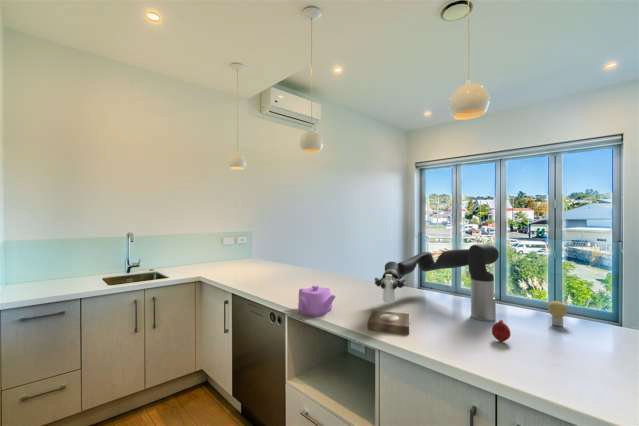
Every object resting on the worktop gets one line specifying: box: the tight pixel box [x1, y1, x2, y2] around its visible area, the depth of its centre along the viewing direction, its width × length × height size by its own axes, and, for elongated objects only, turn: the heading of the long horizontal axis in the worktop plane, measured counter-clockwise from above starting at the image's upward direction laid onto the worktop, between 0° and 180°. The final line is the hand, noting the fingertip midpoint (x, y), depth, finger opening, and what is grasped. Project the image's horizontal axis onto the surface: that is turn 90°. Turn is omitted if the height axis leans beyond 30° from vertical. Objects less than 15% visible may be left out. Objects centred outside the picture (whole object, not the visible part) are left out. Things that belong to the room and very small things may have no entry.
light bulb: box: [547, 300, 568, 327], centre depth 121 cm, size 6×6×10 cm
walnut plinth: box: [367, 309, 410, 335], centre depth 121 cm, size 16×16×3 cm
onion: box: [491, 319, 511, 343], centre depth 104 cm, size 6×6×8 cm
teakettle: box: [297, 285, 336, 318], centre depth 138 cm, size 17×17×12 cm
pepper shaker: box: [382, 274, 396, 303], centre depth 121 cm, size 5×5×11 cm
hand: (388, 286), depth 118 cm, fingers closed on pepper shaker, 3 cm apart
